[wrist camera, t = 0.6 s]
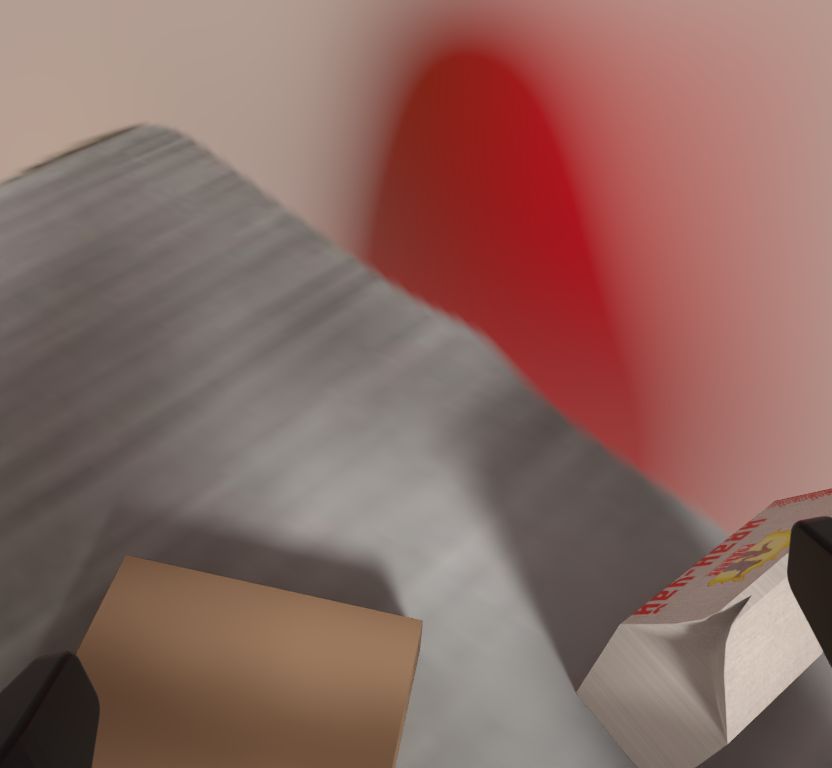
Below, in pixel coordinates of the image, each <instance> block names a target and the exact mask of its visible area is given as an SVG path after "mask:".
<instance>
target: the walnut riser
mask: <svg viewBox="0 0 832 768" xmlns="http://www.w3.org/2000/svg"><path fill="white" fill-rule="evenodd" d="M422 623H423V621H422V620H418V619H413V618H409V617H404V616H400V615H395V614H390V613H386V612H381V611H377V610H372V609H368V608H363V607H359V606H354V605H350V604H345V603H341V602H336V601H332V600H327V599H323V598H318V597H314V596H309V595H305V594H300V593H296V592H291V591H287V590H282V589H278V588H273V587H269V586H264V585H260V584H255V583H251V582H246V581H241V580H237V579H232V578H228V577H223V576H219V575H214V574H210V573H205V572H201V571H196V570H192V569H187V568H183V567H178V566H174V565H169V564H165V563H160V562H156V561H151V560H147V559H142V558H138V557H133V556H129V555H126V556H125V558H124V560H123V562H122V564H121V565H120V567H119V569H118V571H117V573H116V575H115V577H114V579H113V581H112V583H111V585H110V587H109V589H108V591H107V593H106V595H105V597H104V599H103V601H102V603H101V605H100V607H99V609H98V611H97V613H96V615H95V617H94V619H93V621H92V623H91V625H90V627H89V629H88V631H87V633H86V635H85V637H84V639H83V641H82V643H81V645H80V647H79V649H78V651H77V653H76V655H77V656H78V658H79V659H80V661H81V663H82V665H83V667H84V669H85V671H86V673H87V675H88V677H89V679H90V681H91V683H92V685H93V687H94V689H95V690H96V692H97V695H98V698H99V702H100V718H99V724H98V731H97V738H96V744H95V751H94V757H93V764H92V768H395V765H396V760H397V755H398V751H399V746H400V741H401V736H402V732H403V727H404V722H405V718H406V713H407V708H408V704H409V699H410V694H411V689H412V685H413V680H414V675H415V671H416V666H417V661H418V656H419V652H420V643H421V633H422Z"/></svg>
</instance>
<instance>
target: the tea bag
mask: <svg viewBox="0 0 832 768" xmlns="http://www.w3.org/2000/svg"><path fill="white" fill-rule="evenodd" d="M821 516H829V517H832V489H828V490H823V491H818V492H814V493H809V494H805V495H800V496H796V497H791V498H787V499H782V500H777V501H775V502H773V503H772V504H771V505H770V506H768V507H767V508H766V509H765V510H763V511H762V512H761V513H759V514H758V515H757V516H756V517H754V518H753V519H752V520H751V521H749V522H748V523H747V524H746V525H744V526H743V527H742V528H741V529H739V530H738V531H737V532H736V533H734V534H733V535H732V536H730V537H729V538H728V539H727V540H725V541H724V542H723V543H722V544H720V545H719V546H718V547H717V548H715V549H714V550H713V551H712V552H710V553H709V554H708V555H707V556H705V557H704V558H703V559H701V560H700V561H699V562H698V563H696V564H695V565H694V566H693V567H691V568H690V569H689V570H688V571H686V572H685V573H684V574H683V575H681V576H680V577H679V578H678V579H676V580H675V581H674V582H673V583H671V584H670V585H669V586H667V587H666V588H665V589H664V590H662V591H661V592H660V593H659V594H657V595H656V596H655V597H654V598H652V599H651V600H650V601H649V602H647V603H646V604H645V605H644V606H642V607H641V608H640V609H639V610H637V611H636V612H635V613H633V614H632V615H631V616H630V617H628V618H627V619H626V620H625V621H623V622H622V623H621V624H620V625H619V626H618V628H617V630H616V631H615V633H614V634H613V636H612V637H611V639H610V640H609V642H608V644H607V645H606V647H605V648H604V650H603V651H602V653H601V654H600V656H599V658H598V659H597V661H596V662H595V664H594V665H593V667H592V668H591V670H590V672H589V673H588V675H587V676H586V678H585V679H584V681H583V683H582V684H581V686H580V687H579V689H578V690H577V692H576V693H577V695H578V696H579V697H580V698H581V700H582V701H583V702H584V703H585V704H586V706H587V707H588V708H589V709H590V711H591V712H592V713H593V714H594V716H595V717H596V718H597V719H598V720H599V722H600V723H601V724H602V725H603V727H604V728H605V729H606V730H607V731H608V733H609V734H610V735H611V736H612V738H613V739H614V740H615V741H616V743H617V744H618V745H619V746H620V747H621V749H622V750H623V751H624V752H625V754H626V755H627V756H628V757H629V758H630V760H631V761H632V762H633V763H634V765H635V766H636V767H637V768H696V767H697V766H698V765H700V764H701V763H703V762H704V761H705V760H707V759H708V758H709V757H711V756H712V755H714V754H715V753H716V752H718V751H719V750H721V749H722V748H723V747H725V746H726V745H727V744H728V743H730V742H731V741H732V740H733V739H734V738H735V737H736V736H737V735H738V734H739V733H740V732H741V731H742V730H743V729H744V728H745V727H746V726H747V725H748V724H749V723H750V722H751V721H752V720H753V719H755V718H756V717H757V716H758V715H759V714H760V713H761V712H762V711H763V710H764V709H765V708H766V707H767V706H768V705H769V704H770V703H771V702H772V701H773V700H774V699H775V698H776V697H777V696H778V695H779V694H781V693H782V692H783V691H784V690H785V689H786V688H787V687H788V686H789V685H790V684H791V683H792V682H793V681H794V680H795V679H796V678H797V677H798V676H799V675H800V674H801V673H802V672H803V671H804V670H806V669H807V668H808V667H809V666H810V665H811V664H812V663H813V662H814V661H815V660H816V659H817V658H818V657H819V656H820V655H821V654H822V653H823V650H822V648H821V646H820V645H819V643H818V641H817V639H816V637H815V635H814V633H813V631H812V629H811V627H810V625H809V623H808V622H807V620H806V618H805V616H804V614H803V612H802V610H801V608H800V606H799V604H798V602H797V600H796V598H795V597H794V595H793V593H792V591H791V588H790V585H789V582H788V577H787V565H788V554H789V544H790V534H791V528H792V526H793V524H794V523H795V522H797V521H799V520H804V519H810V518H815V517H821Z"/></svg>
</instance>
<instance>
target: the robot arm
mask: <svg viewBox="0 0 832 768" xmlns="http://www.w3.org/2000/svg"><path fill="white" fill-rule="evenodd" d="M787 577H788V582H789V585H790V588H791V591H792V593H793V595H794V597H795V598H796V600H797V602H798V604H799V606H800V608H801V610H802V612H803V614H804V616H805V618H806V620H807V622H808V623H809V625H810V627H811V629H812V631H813V633H814V635H815V637H816V639H817V641H818V643H819V645H820V646H821V648H822V650H823V652H824V654H825V656H826V658H827V660H828V662H829V664H830V666H831V668H832V517H829V516H821V517H815V518H810V519H804V520H799V521H797V522H795V523H794V524H793V526H792V528H791V534H790V544H789V554H788V565H787ZM99 718H100V702H99V698H98V695H97V692H96V690H95V689H94V687H93V685H92V683H91V681H90V679H89V677H88V675H87V673H86V671H85V669H84V667H83V665H82V663H81V661H80V659H79V658H78V656H77V655H76V654H75V653H73V652H68V651H66V652H61V653H55V654H49V655H44V656H41V657H38V658H37V659H35V660H34V661H33V662H32V663H31V664H30V665H29V666H28V667H27V668H25V669H24V670H23V671H22V672H21V673H20V674H19V675H18V676H17V677H16V678H15V679H14V680H13V681H12V682H11V683H10V684H9V685H8V686H7V687H6V688H4V689H3V690H2V691H1V692H0V768H92V764H93V757H94V751H95V744H96V738H97V731H98V724H99Z"/></svg>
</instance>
